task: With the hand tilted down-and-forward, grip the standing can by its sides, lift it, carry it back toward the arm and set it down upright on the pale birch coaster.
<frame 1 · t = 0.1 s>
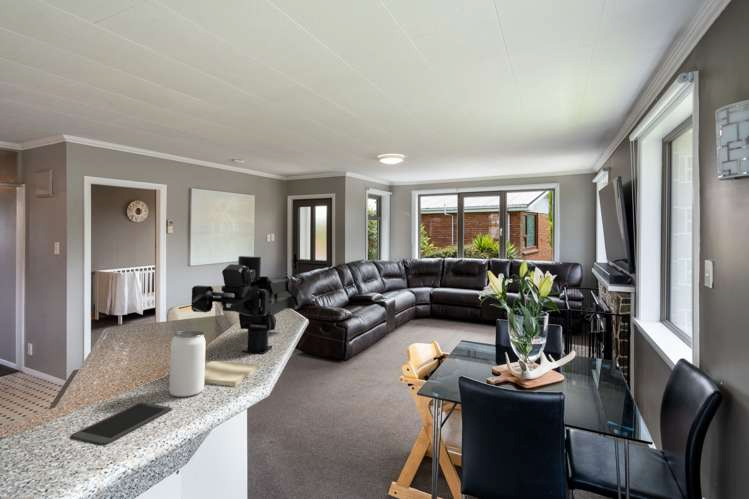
hand: (211, 306, 88), 17 cm above the countertop, tool horizontal, fingers open, 9 cm apart
can: (187, 392, 82), on the countertop
coaster: (223, 374, 92), on the countertop
cell phone: (125, 425, 68), on the countertop
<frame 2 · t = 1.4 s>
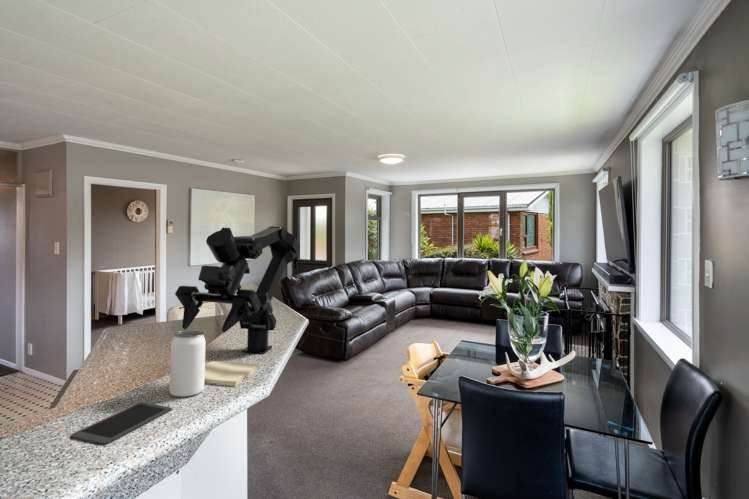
hand: (203, 329, 87), 12 cm above the countertop, tool tilted 45°, fingers open, 9 cm apart
nothing on the countertop moved.
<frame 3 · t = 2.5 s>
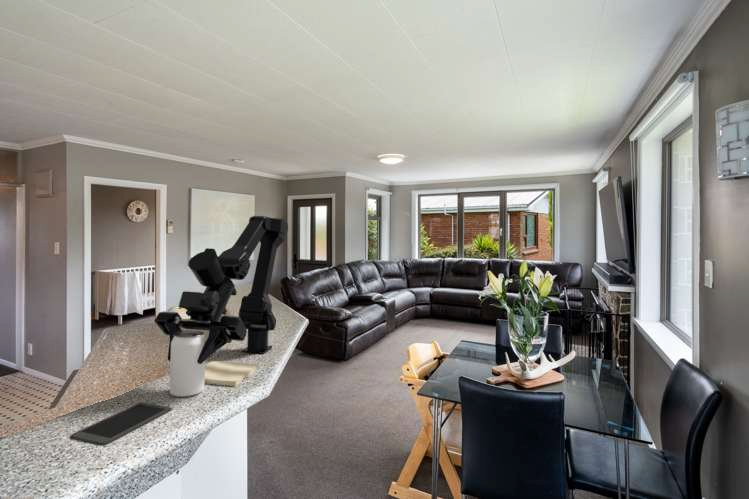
hand: (184, 361, 80), 7 cm above the countertop, tool tilted 45°, fingers closed on can, 6 cm apart
can: (187, 392, 82), on the countertop, touching gripper
everything else where it was.
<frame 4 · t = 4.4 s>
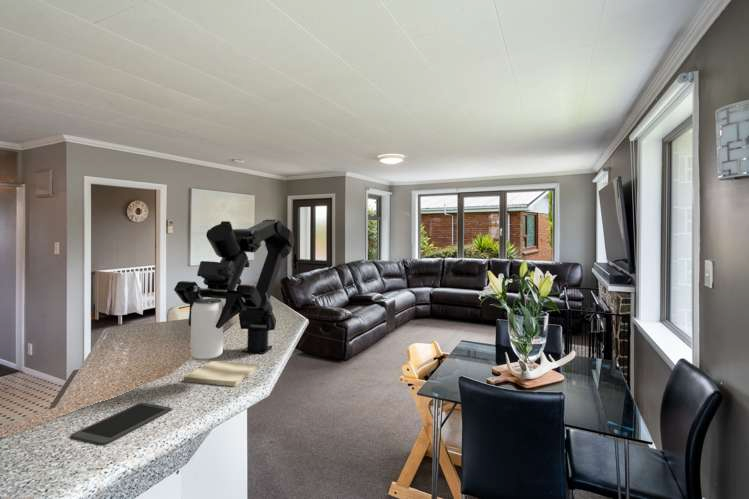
hand: (203, 326, 85), 13 cm above the countertop, tool tilted 45°, fingers closed on can, 6 cm apart
can: (206, 356, 87), point 6 cm above the countertop, touching gripper
everything else where it was.
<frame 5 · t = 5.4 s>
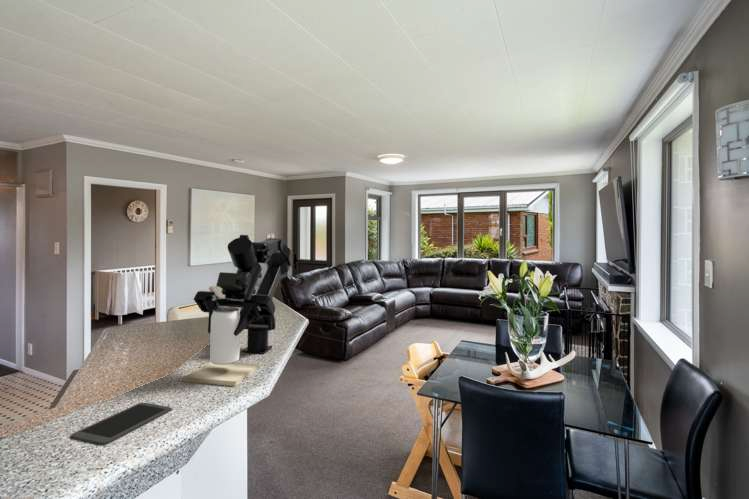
hand: (222, 334, 91), 10 cm above the countertop, tool tilted 45°, fingers closed on can, 6 cm apart
can: (224, 361, 93), point 3 cm above the countertop, touching gripper
everything else where it was.
when the fingers open (8 cm above the countertop, at t = 6.1 s): can stays where it is, resting on coaster.
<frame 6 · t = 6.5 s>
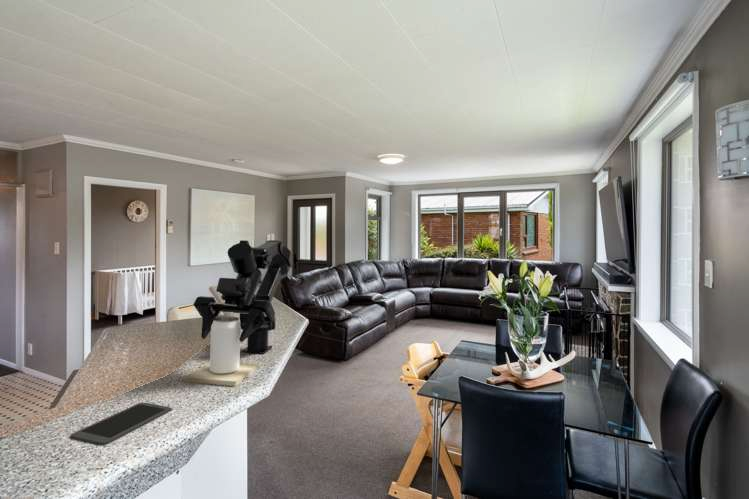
hand: (221, 339, 91), 9 cm above the countertop, tool tilted 45°, fingers open, 9 cm apart
can: (224, 371, 92), point 1 cm above the countertop, touching coaster
everything else where it was.
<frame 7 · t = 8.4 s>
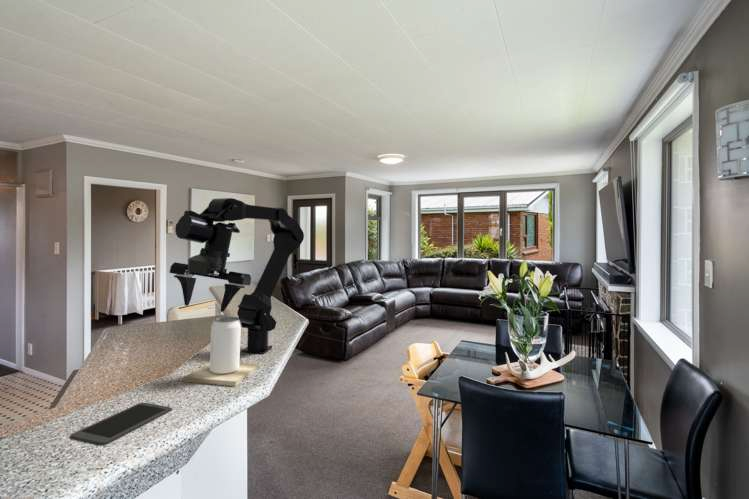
hand: (204, 308, 98), 14 cm above the countertop, tool pointing down, fingers open, 9 cm apart
nothing on the countertop moved.
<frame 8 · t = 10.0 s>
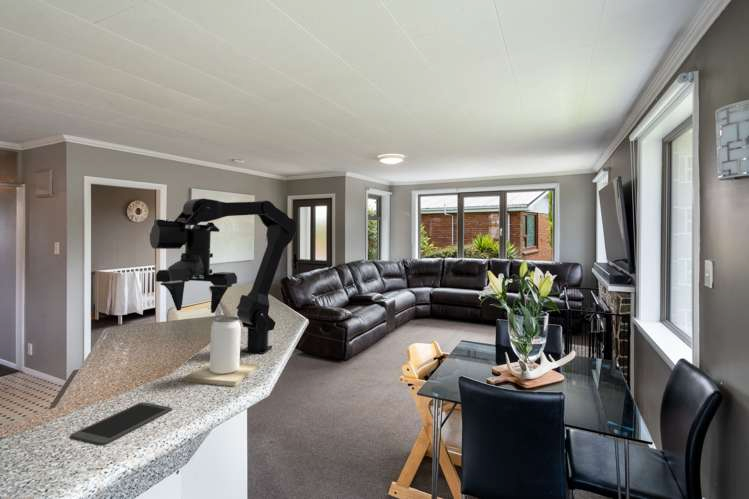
hand: (195, 311, 99), 13 cm above the countertop, tool pointing down, fingers open, 9 cm apart
nothing on the countertop moved.
at the end: can 0.2 cm from the coaster (horizontally); can tilted 0°; the gripper is holding nothing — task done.
